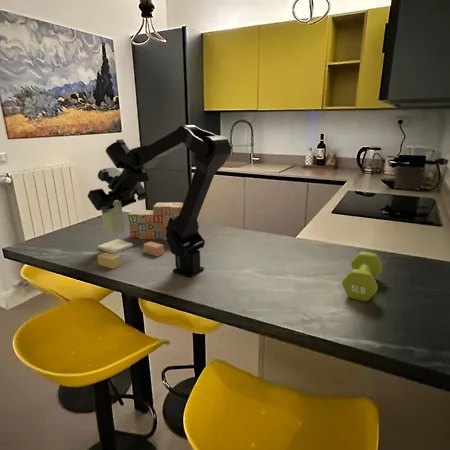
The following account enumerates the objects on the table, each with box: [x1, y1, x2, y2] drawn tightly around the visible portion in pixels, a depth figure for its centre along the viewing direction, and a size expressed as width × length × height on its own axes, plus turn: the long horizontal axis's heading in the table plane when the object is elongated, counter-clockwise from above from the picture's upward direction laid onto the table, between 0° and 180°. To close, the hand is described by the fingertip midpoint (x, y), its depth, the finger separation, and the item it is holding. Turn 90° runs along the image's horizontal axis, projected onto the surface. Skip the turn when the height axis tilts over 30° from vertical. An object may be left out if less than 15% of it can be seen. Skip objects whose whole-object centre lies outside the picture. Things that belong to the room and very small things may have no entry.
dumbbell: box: [341, 251, 384, 302], centre depth 85 cm, size 16×8×7 cm, turn 150°
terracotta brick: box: [143, 241, 165, 257], centre depth 108 cm, size 6×3×3 cm, turn 55°
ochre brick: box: [97, 251, 122, 269], centre depth 99 cm, size 6×3×3 cm, turn 61°
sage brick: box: [101, 200, 125, 235], centre depth 109 cm, size 4×4×10 cm
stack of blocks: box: [128, 201, 184, 240], centre depth 121 cm, size 21×6×12 cm, turn 86°
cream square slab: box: [97, 238, 134, 255], centre depth 113 cm, size 8×8×2 cm
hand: (109, 210), depth 110 cm, fingers closed on sage brick, 4 cm apart
